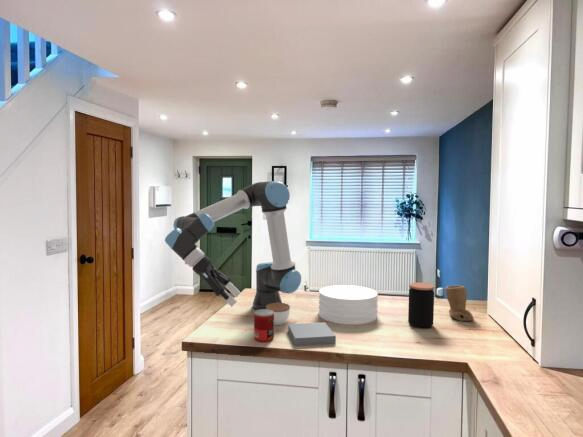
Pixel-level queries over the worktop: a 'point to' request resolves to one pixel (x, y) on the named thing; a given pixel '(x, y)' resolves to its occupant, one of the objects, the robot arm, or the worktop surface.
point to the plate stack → (348, 304)
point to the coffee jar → (421, 305)
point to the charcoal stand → (311, 334)
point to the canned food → (264, 325)
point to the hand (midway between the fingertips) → (236, 299)
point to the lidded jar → (279, 312)
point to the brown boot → (458, 302)
